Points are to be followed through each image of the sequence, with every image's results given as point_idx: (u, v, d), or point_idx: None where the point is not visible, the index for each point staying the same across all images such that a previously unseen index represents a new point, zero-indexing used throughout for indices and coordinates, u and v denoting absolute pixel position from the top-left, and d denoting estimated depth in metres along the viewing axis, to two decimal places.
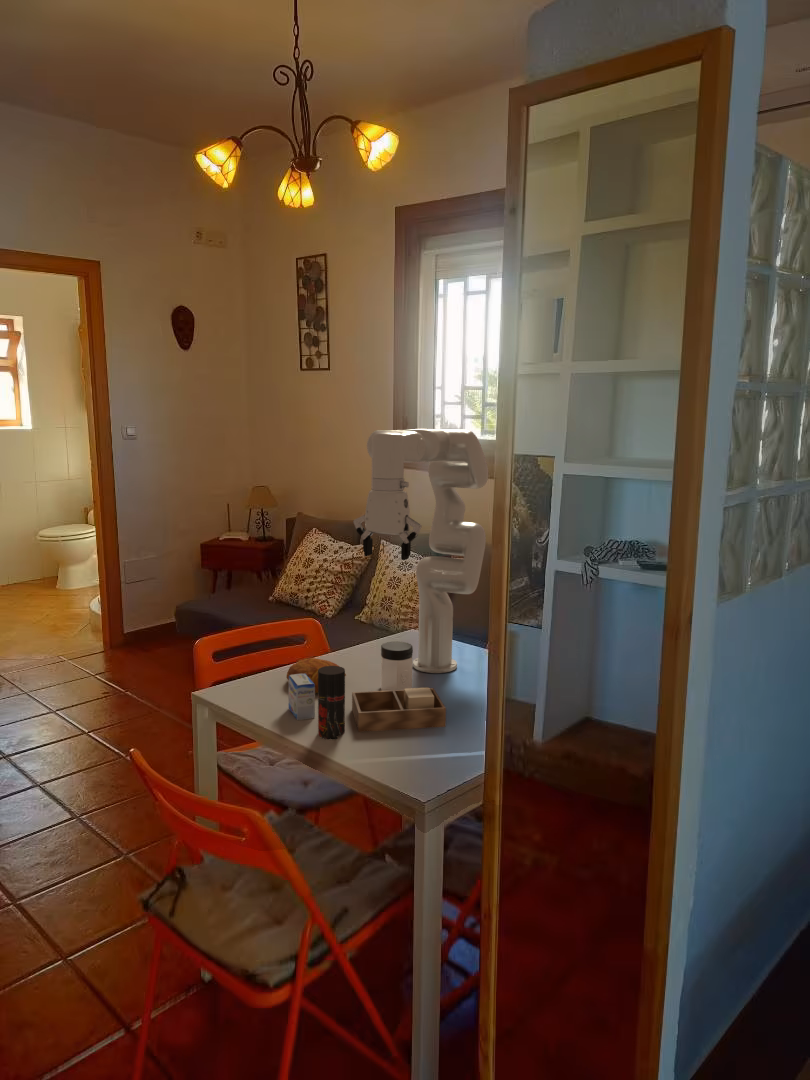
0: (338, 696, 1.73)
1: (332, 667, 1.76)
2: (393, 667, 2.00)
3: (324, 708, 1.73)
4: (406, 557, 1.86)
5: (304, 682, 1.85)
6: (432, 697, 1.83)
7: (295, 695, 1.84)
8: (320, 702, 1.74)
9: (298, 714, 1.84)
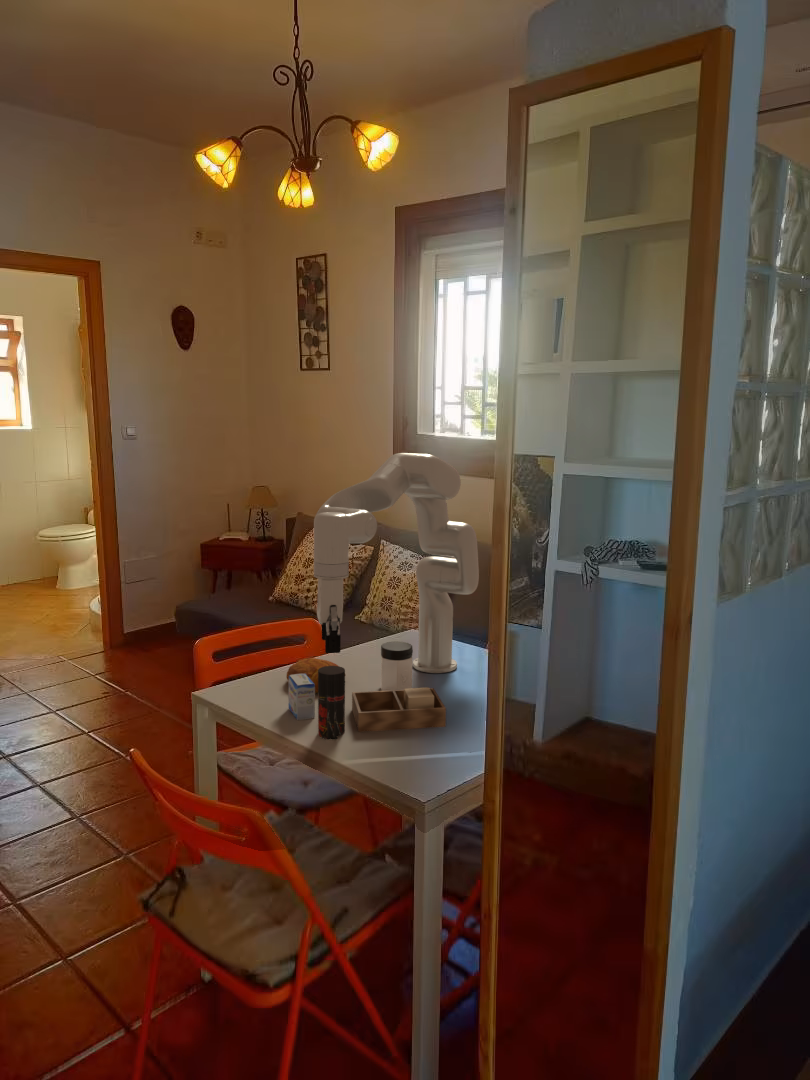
0: (338, 696, 1.73)
1: (332, 667, 1.76)
2: (393, 667, 2.00)
3: (324, 708, 1.73)
4: None
5: (304, 682, 1.85)
6: (432, 697, 1.83)
7: (295, 695, 1.84)
8: (320, 702, 1.74)
9: (298, 714, 1.84)
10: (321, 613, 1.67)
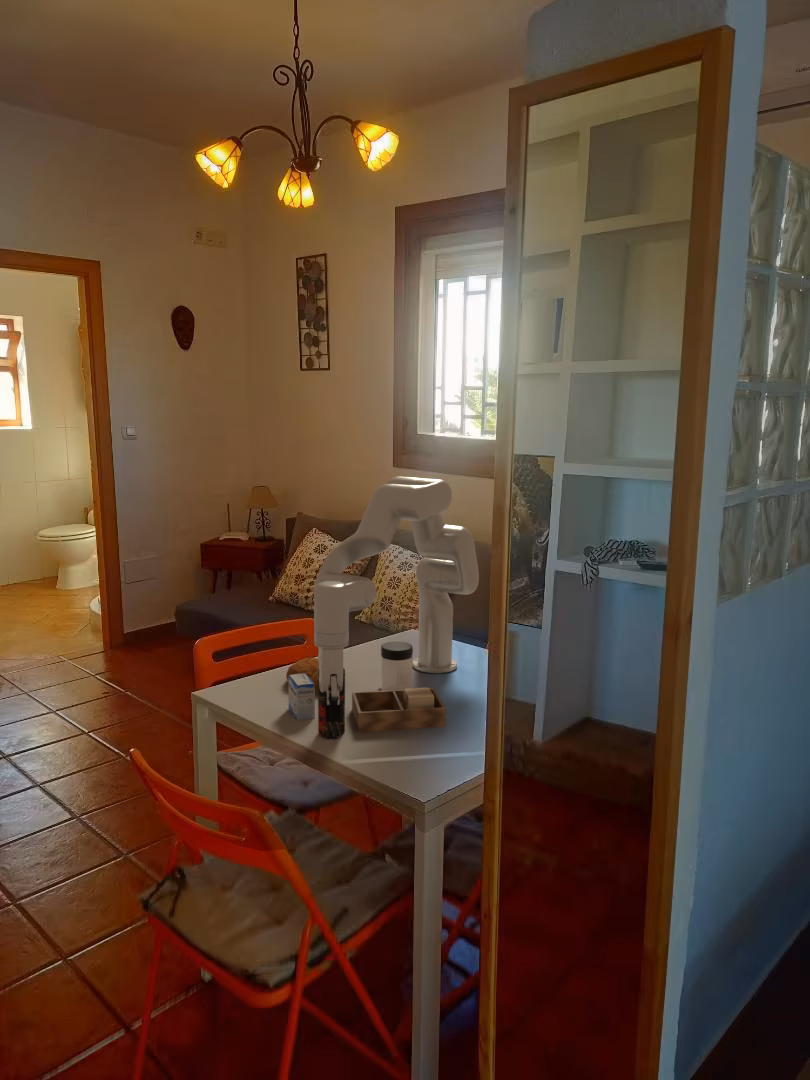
0: None
1: None
2: (393, 667, 2.00)
3: (324, 707, 1.73)
4: None
5: (304, 682, 1.85)
6: (432, 697, 1.83)
7: (295, 695, 1.84)
8: (320, 702, 1.74)
9: (298, 714, 1.84)
10: (322, 682, 1.70)
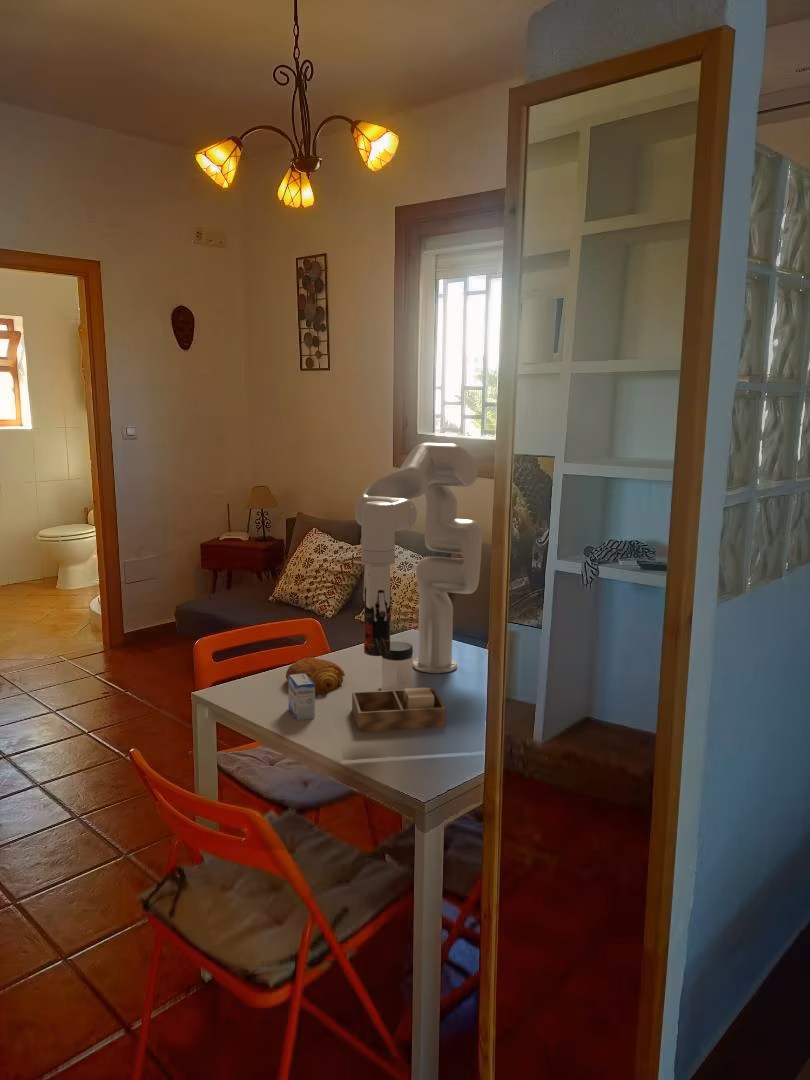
0: None
1: None
2: (393, 667, 2.00)
3: (371, 624, 1.78)
4: None
5: (304, 682, 1.85)
6: (432, 697, 1.83)
7: (295, 695, 1.84)
8: (367, 619, 1.78)
9: (298, 714, 1.84)
10: (369, 598, 1.74)
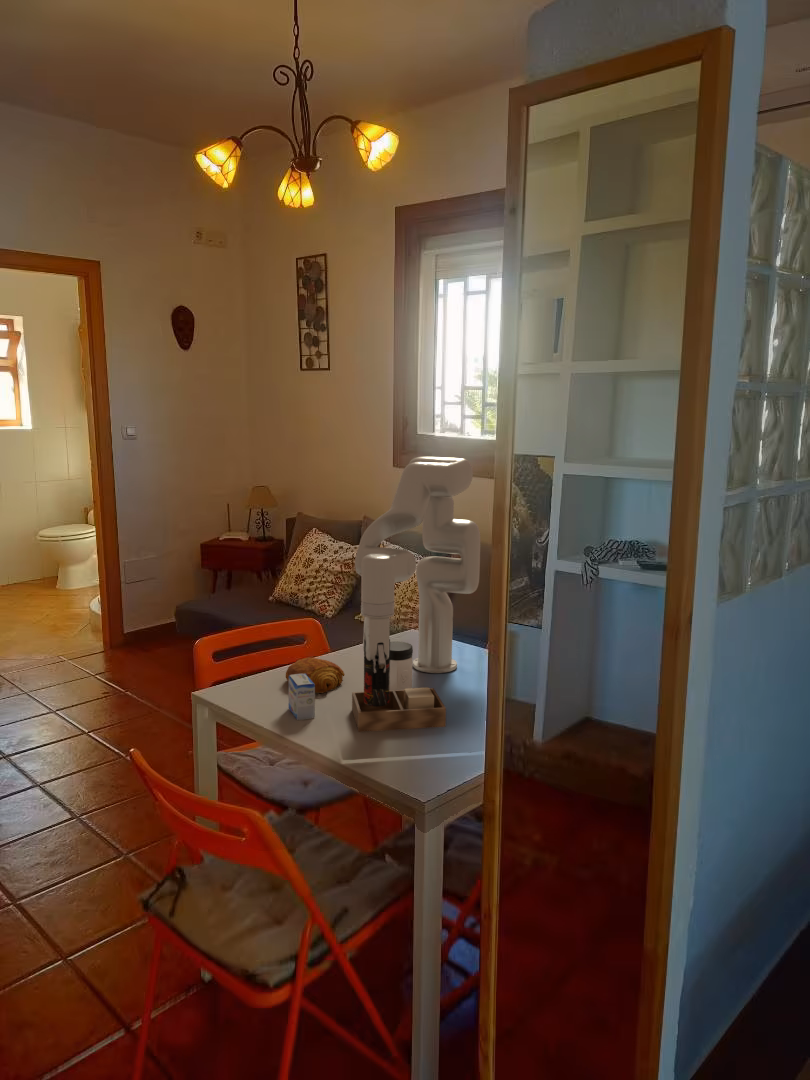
0: None
1: None
2: (393, 667, 2.00)
3: (370, 675, 1.80)
4: None
5: (304, 682, 1.85)
6: (432, 697, 1.83)
7: (295, 695, 1.84)
8: (366, 670, 1.80)
9: (298, 714, 1.84)
10: (369, 650, 1.76)
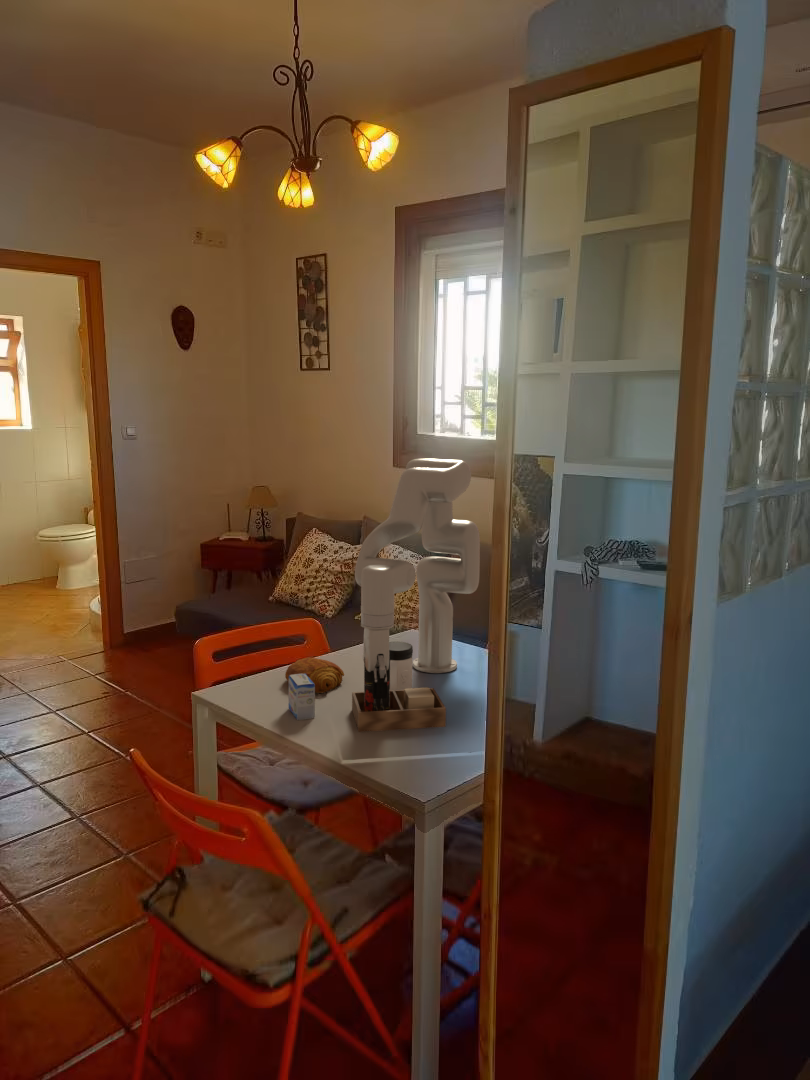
0: None
1: None
2: (393, 667, 2.00)
3: (371, 693, 1.81)
4: None
5: (304, 682, 1.85)
6: (432, 697, 1.83)
7: (295, 695, 1.84)
8: (367, 688, 1.81)
9: (298, 714, 1.84)
10: (369, 661, 1.77)
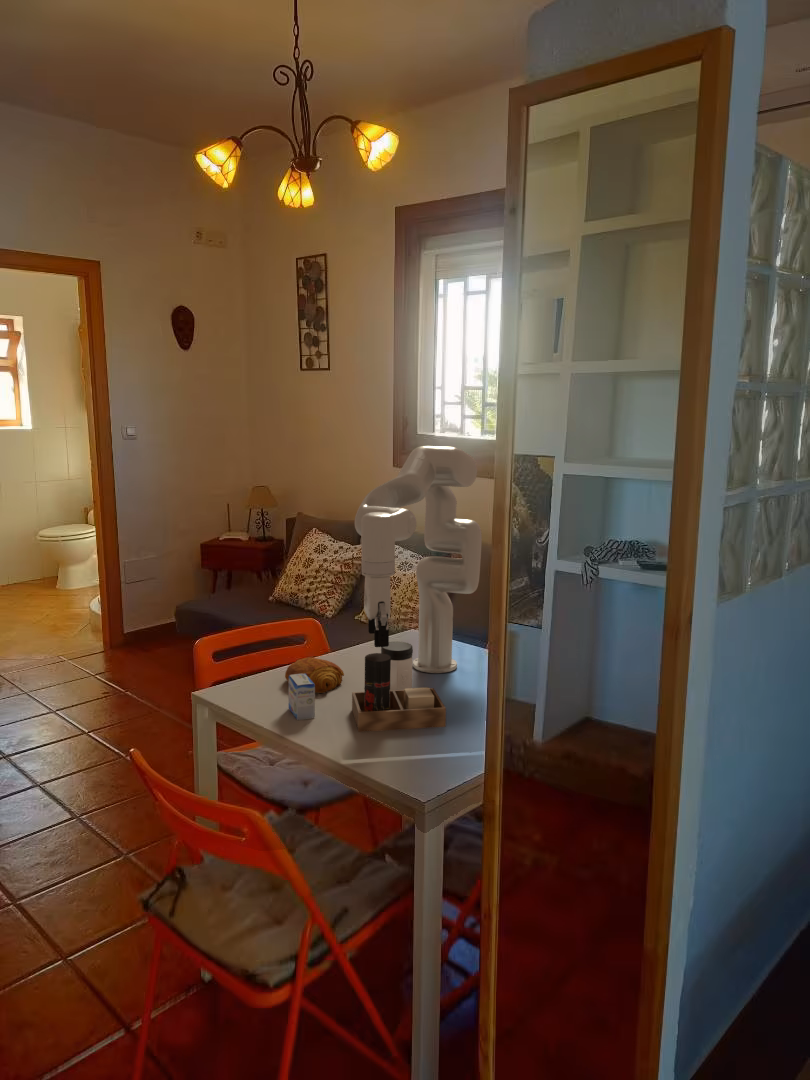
0: (384, 682, 1.80)
1: (378, 654, 1.84)
2: (393, 667, 2.00)
3: (371, 693, 1.81)
4: None
5: (304, 682, 1.85)
6: (432, 697, 1.83)
7: (295, 695, 1.84)
8: (367, 688, 1.81)
9: (298, 714, 1.84)
10: (370, 609, 1.75)
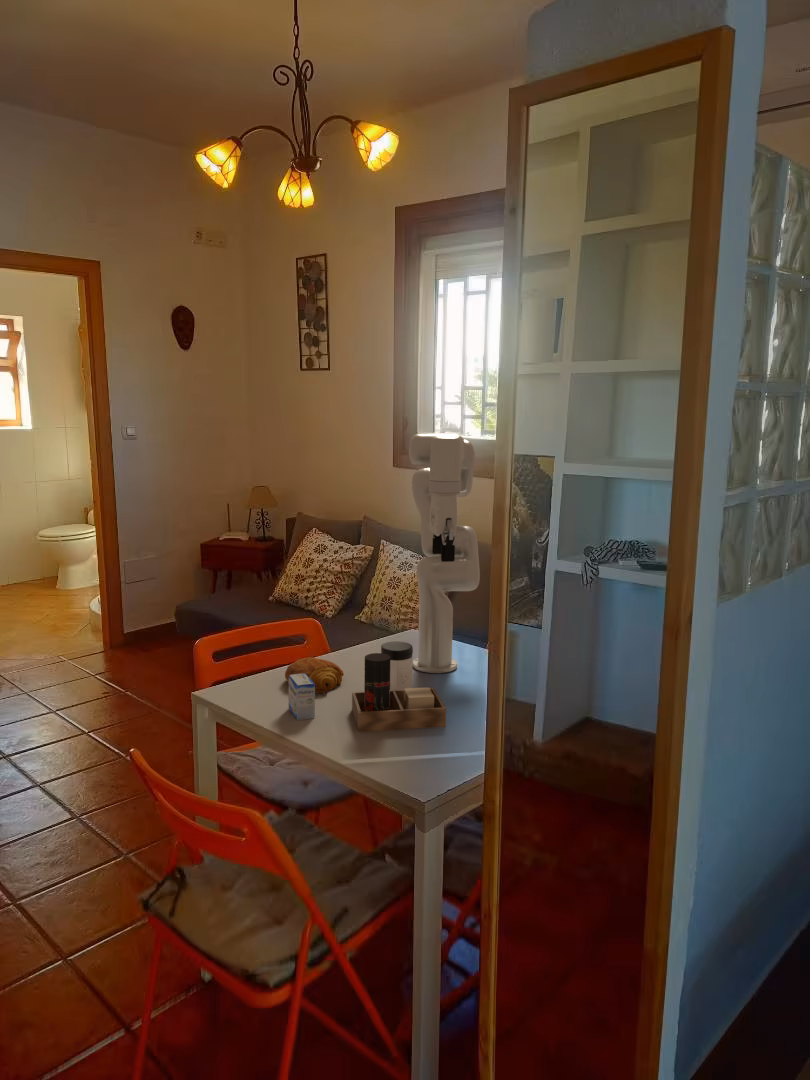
0: (384, 682, 1.81)
1: (377, 654, 1.84)
2: (393, 667, 2.00)
3: (371, 693, 1.81)
4: None
5: (304, 682, 1.85)
6: (432, 697, 1.83)
7: (295, 695, 1.84)
8: (367, 688, 1.81)
9: (298, 714, 1.84)
10: (438, 525, 1.87)
